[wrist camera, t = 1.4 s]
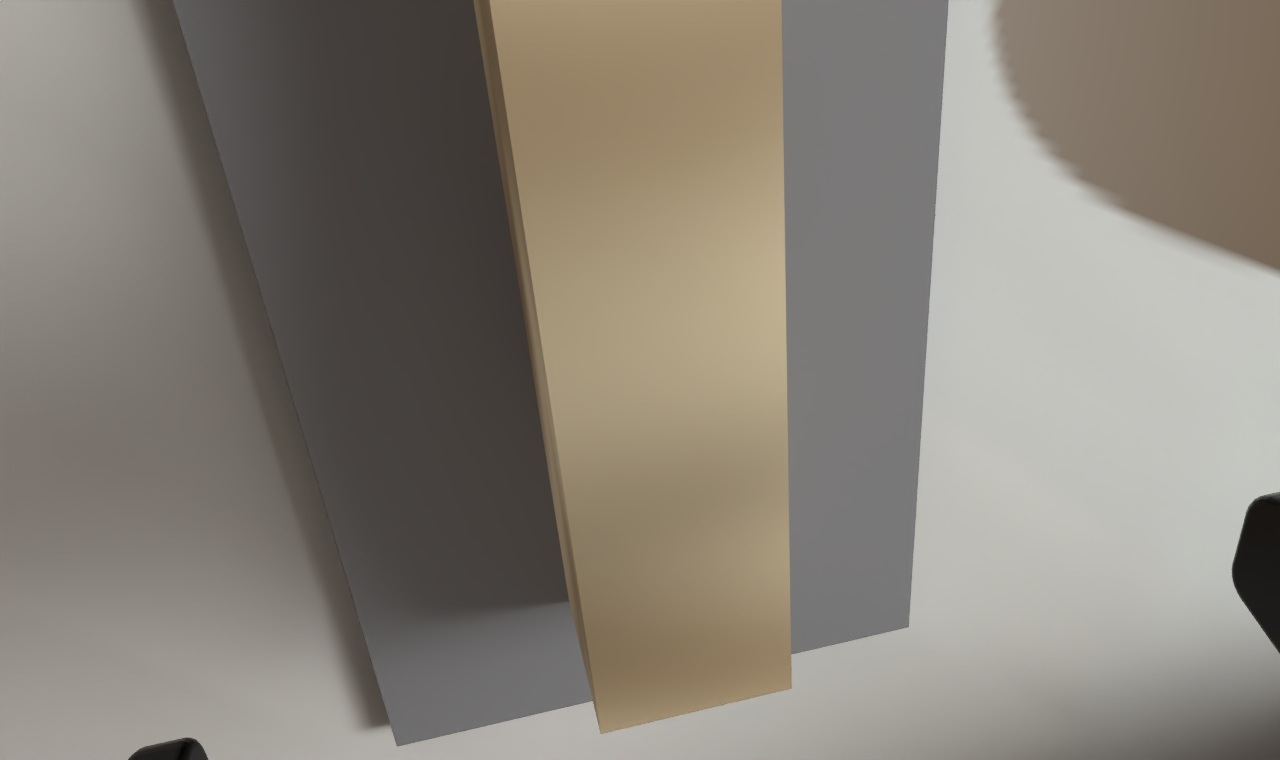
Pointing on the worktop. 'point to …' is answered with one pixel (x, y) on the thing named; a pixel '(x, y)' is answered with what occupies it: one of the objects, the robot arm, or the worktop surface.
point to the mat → (496, 335)
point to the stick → (655, 331)
